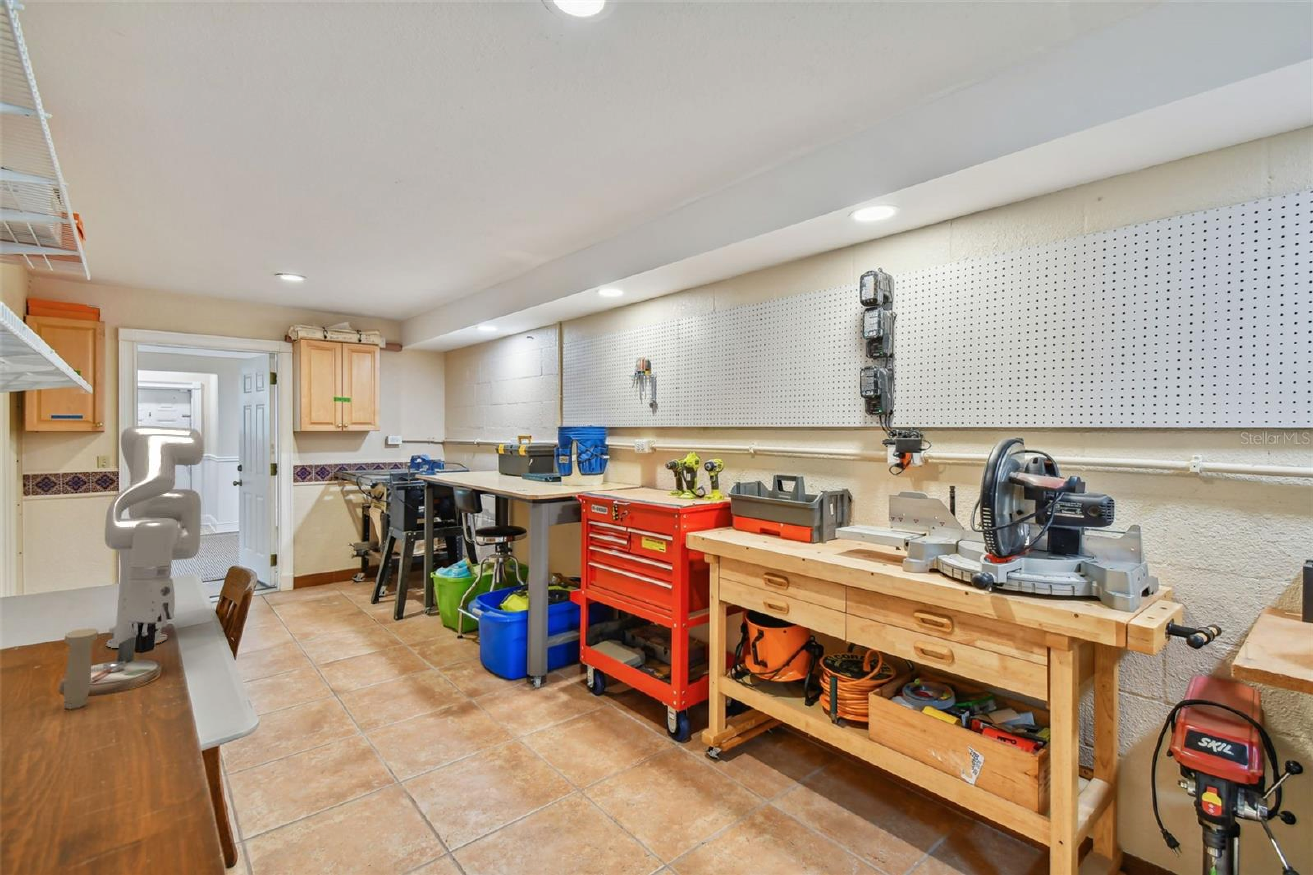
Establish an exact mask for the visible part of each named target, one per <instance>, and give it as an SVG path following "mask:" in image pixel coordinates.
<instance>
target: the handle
mask: <svg viewBox="0 0 1313 875" xmlns="http://www.w3.org/2000/svg"><path fill="white" fill-rule="evenodd" d="M98 637H99V630H98V629H96V628H85V629H77V630H72V631H70V632H67V633H66V634H65V635H64V643H65V644H67V645H69V652H68V659H67V665H66V670H65V676H64V677H65V684H64V694H63V696H64V704H63V705H64V708H65V709H68V710H74V709H80V708H81V707H84V706H86V705H87V703H88V699H89V698H88V697H89V696H88V693H89V688H90V681H91V666H92V646H93V645H92V644H93V643H94V641H96V640H98Z"/></svg>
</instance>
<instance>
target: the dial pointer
mask: <svg viewBox="0 0 1313 875" xmlns="http://www.w3.org/2000/svg"><path fill="white" fill-rule="evenodd" d="M117 650H118V654H117V660H113V661H109V662H104V663H105V664H104V665H103V672H101V673H99V674H98V675H96V676H94V677H92V679H91V680H96V679H97V678H99V677H101V676H103V675H104V674H106V673H112V672H117V671H121V670H123V669H124V664H125V663H126V662H128V661H130V660H132V659H135V637H132V638H129V639H127V640H126V641H124V642H122V643H120V644H119V649H117Z"/></svg>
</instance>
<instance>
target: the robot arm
mask: <svg viewBox="0 0 1313 875" xmlns="http://www.w3.org/2000/svg"><path fill="white" fill-rule="evenodd" d="M120 446H121V452H122V455H123V458H124V461H125V463H126V465H127V468H128V471H129V476H130V477H129V478H130V480H129V486H127V487H125V488H124V489H123V490H121V491H120V492H119V493H118V494H117V495H116V496H115V497H113V500H112V501H111V502H110V504H109V505H108V508H107V511H106V514H105V516H106V517H105V527H104V543H105V544H106V547H108V548H109V549H111V550H114V551H118V552H119V554H118V555H119V570H120V571H119V587H118V589H119V590H118V600H117V611H116V622H115V625H114V626H113V627H110V628H109V630H108V632H109V633H111V634H113V637H112V638H111V639H108V641H107V642H106V647H107V646H108V647H111V648H110V649H112V648H119V644H120V643H122V642H124V641H126V640H127V639H129V638H132V637H135V648H134V654H145V653H149V652H153V651H154V650H155V645H154V643H155V641H160V640H162V639H163V638H165V637H160V636H167V635H164V634H161V632H162V628H166V627H167V626H168V621H169V620H172V619H174V617H175V607H176V606H175V604H176V602H175V601H176V600H175V599H176V598H175V585H174V580H173V578H171V574H172V561H180V560H188V559H192V558H194V557H196V556H197V555H198V553H199V550H200V546H201V545H200V544H201V527H202V526H201V525H202V524H201V523H202V522H201V521H202V518H201V517H202V502H201V501H202V500H201V497H200V495H199V493H198V492H197V491H195V490H194V489H188V488H184V489H183V488H176V489H175V485H176V466H197V465H199V464H200V463H201V462H202V461H203V458H204V454H205V445H204V441H203V438H202V436H201V433H200V432H199V431H198V429H195V428H188V427H187V428H186V427H172V426H156V425H133V426H130V427H127V428H125V429H124V430H123V431H122V432H121V436H120ZM127 509H128V516H129V518H122V514H123V512H124V511H125V510H127ZM108 647H107V648H108Z"/></svg>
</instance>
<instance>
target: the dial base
mask: <svg viewBox="0 0 1313 875" xmlns="http://www.w3.org/2000/svg"><path fill="white" fill-rule="evenodd" d="M105 663H106V662H104V663H98V664H95V665H94V664H93V665H91V679H92V677H94V676H96V675H98V674H99V673H101V672H103V665H104V664H105ZM162 666H163V665H162V664H161V663H160V662H158V661H154V660H147V659H135V658H133V659H132V660H130V661H128V662H126V663H125V664H124V669H123V670H121V671H117V672H112V673H106V674H104V675H103V676H101V677H99V678H97V679H96V680H91V681H90V688H89V693H88V696H87V697H91V696H92V697H93V696H102V695H109V694H108V693H110V694H113V693H112V692H116V691H121V692H124V691H123V690H126V691H128V690H127V689H130V688H133V687H137V686H139V685H141V684H143V683H146V682H149V681H151V680H152V679H154V678H156V677H157V676H158V675H159V674H160V673H161V674H162ZM64 684H65V676H63V677H62V678H61V680H60V684H59V685H60V686H59V692H60V693H61V694H63V695H64ZM137 688H138V687H137ZM130 690H131V689H130ZM116 693H117V692H116Z"/></svg>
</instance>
